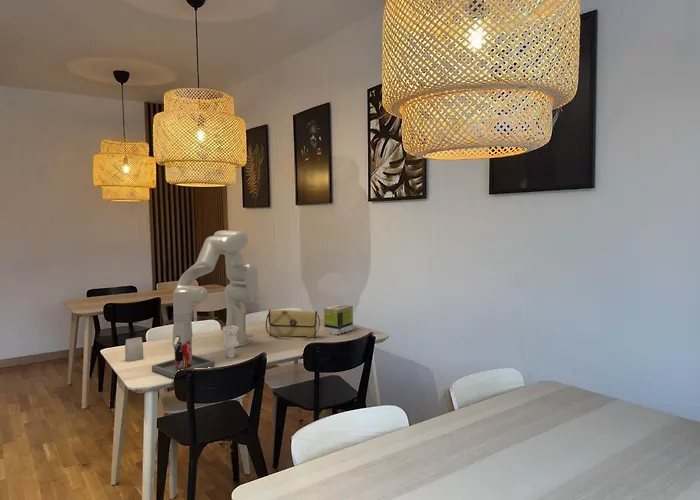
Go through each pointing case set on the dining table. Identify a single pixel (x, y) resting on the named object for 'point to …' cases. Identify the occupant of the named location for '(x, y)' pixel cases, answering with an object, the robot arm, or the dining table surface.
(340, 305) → the tea box
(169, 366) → the tray
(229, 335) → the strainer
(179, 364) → the soda can
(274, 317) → the clutch purse
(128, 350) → the grey carton
